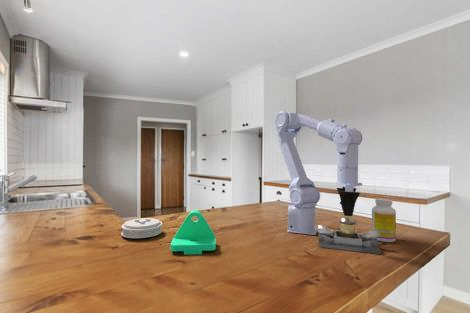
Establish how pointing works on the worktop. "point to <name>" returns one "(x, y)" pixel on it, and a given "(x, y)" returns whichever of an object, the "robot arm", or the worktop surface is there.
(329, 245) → the shaft stand
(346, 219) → the coupling
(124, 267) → the worktop surface
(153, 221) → the lid
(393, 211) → the supplement bottle
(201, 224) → the camera mount
